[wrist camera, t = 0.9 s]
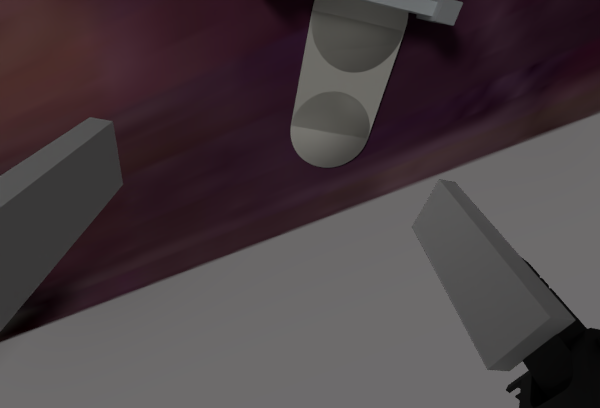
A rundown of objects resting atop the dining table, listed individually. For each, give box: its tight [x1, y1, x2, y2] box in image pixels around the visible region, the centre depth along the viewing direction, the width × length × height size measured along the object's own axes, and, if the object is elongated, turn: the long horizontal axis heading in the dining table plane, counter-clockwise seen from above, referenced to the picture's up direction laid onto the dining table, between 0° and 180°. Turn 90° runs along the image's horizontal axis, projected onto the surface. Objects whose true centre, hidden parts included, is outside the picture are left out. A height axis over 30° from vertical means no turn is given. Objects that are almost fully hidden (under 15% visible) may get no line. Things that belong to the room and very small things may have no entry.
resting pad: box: [291, 0, 408, 168], centre depth 31 cm, size 20×9×1 cm, turn 169°
